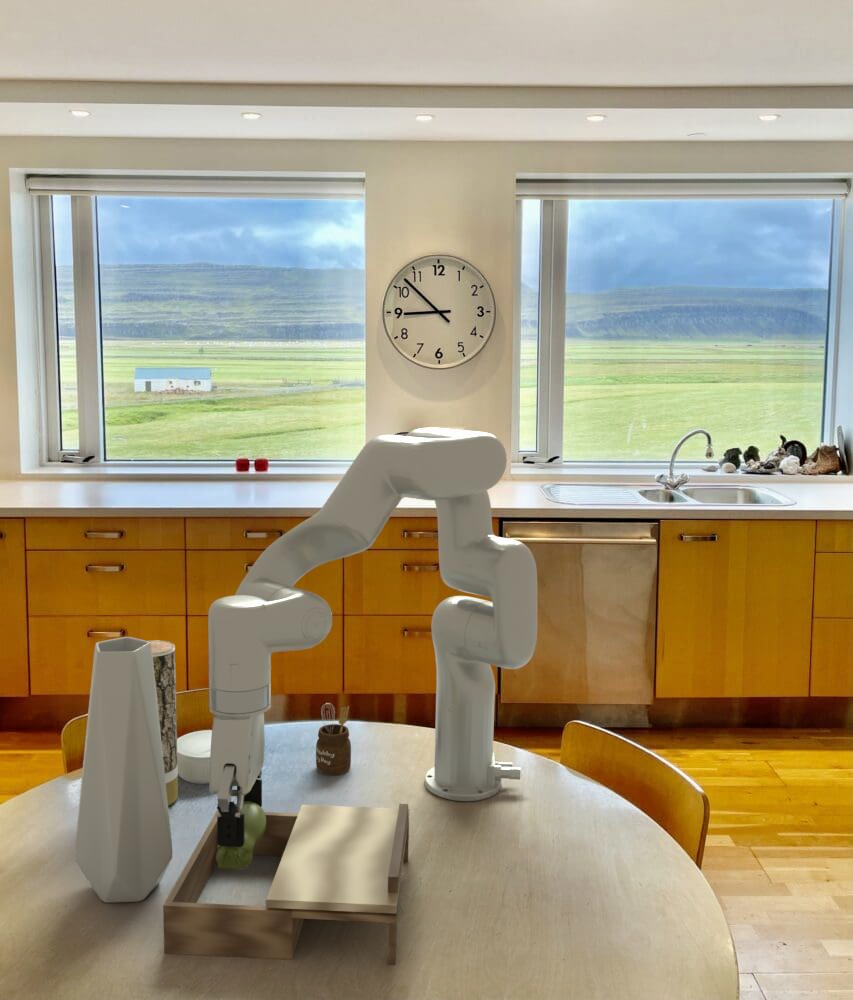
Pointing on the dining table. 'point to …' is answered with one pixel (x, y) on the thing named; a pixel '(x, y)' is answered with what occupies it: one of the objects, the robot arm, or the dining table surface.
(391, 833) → the lid
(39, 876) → the dining table surface
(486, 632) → the robot arm
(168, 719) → the paper tube
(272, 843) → the wooden box
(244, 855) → the pear
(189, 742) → the ramekin
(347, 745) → the utensil holder
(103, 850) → the vase
